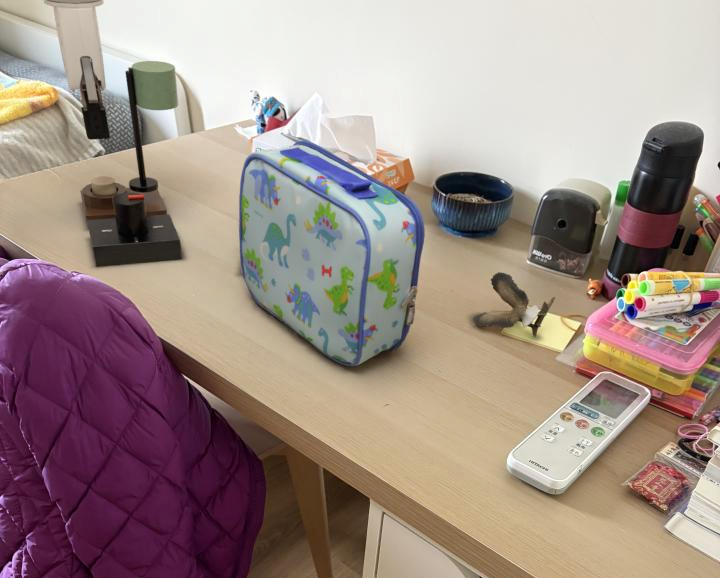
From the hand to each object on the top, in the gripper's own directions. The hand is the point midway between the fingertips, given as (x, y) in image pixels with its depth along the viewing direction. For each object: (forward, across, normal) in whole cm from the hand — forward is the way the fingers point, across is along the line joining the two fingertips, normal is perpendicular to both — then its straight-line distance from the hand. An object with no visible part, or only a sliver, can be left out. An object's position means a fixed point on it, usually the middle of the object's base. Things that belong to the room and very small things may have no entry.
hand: (98, 137), depth 106 cm
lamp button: (+8, 0, -1) cm, 8 cm away
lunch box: (+12, +40, +22) cm, 48 cm away
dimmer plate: (+12, +13, +2) cm, 18 cm away
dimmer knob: (+9, +13, +2) cm, 16 cm away
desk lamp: (+8, 0, +8) cm, 11 cm away
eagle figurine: (+13, +46, +47) cm, 67 cm away
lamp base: (+12, 0, +2) cm, 12 cm away
